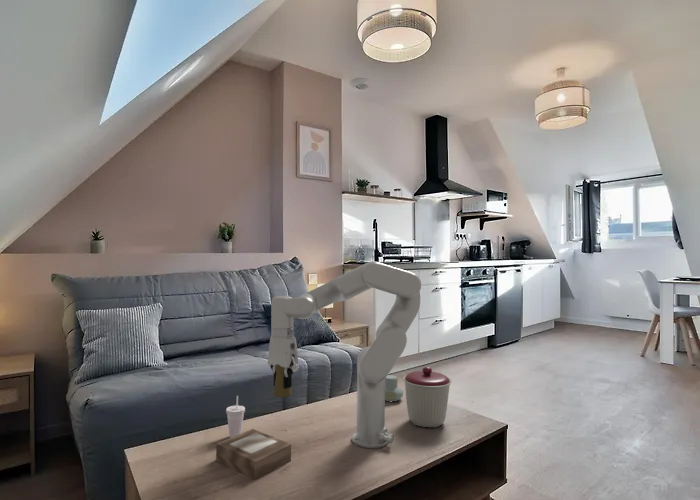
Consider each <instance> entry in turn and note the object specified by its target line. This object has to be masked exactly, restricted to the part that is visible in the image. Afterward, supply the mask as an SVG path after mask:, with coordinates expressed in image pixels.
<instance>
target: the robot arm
mask: <svg viewBox="0 0 700 500" xmlns="http://www.w3.org/2000/svg"><path fill="white" fill-rule="evenodd" d="M371 289H375V290H376V289H377V290H379V291H382V292H384V293H387V294H388V293H389V294H392V295H395V296H396V297H395V301H394V303H393V305H392V306H391V308H390V310H389V312H388V314H386V316H385V318H384V319H383V321H382V322H381V324H380V325H379V326H378V327H377V329H376V332H375V339H374V341H373V342H372V344H371V345H370V346H365V347H364V348H362V349H361V350H360V352H359V353H358V356H357V360H356V361H357V362H356V363H357V364H356V369H357V372H356V373H357V374H356V375H357V376H356V377H357V388H356V389H357V390H356V391H357V393H356V394H357V395H356V431H355V432H354V433H353V434H352V436H351V440H352V442H353V444H354V445H357V446H359V447H361V448H365V449H366V448H367V449H377V448H382V447H384V446H386V445H387V444H393V442H394V434H392V433H388V428H387V427H385V426H386V425H385V421H386V420H385V419H386V418H385V417H386V416H385V415H386V411H385V410H386V401H385V377H386V376H387V375H390V372H391V371H392V369H393V368H394V366H395V365H396V363H397V362H398V360H399V359H400V357H401V356H402V354H403V353H404V351H405V349H406V347H407V343H408V340H407V339H408V337H407V332H408V330H409V329H410V327H411V325H413V324H412V323H413V322H414V320H415V319H416V317H417V315H418V313H419V311H420V306H421V292H420V291H421V289H422V280H421V279H420V277H419V275H417V274H416V273H414V272H411V271H408V270H404V269H401V268H397V267H393V266H391V265H388V264H385V263H382V262H379V261H368V262H366V263H364V264H361V265H360V266H358V267H355V268H353V269H351V270H350V271H347V272H344V273H343V274H341V275H339V276H336V277H335V278H333V279H331V280H329V281H327V282H326V283H324V284H322V285H319V286H317V287H316V288H314V289H312V290H309V291H307V292H305V293H303V294H300V296H299V297H293V296H290V295H278V296H273V297H272V298H271V301H270V302H271V303H270V304H271V311H270V312H271V313H270V314H271V319H270V322H271V323H270V324H271V330H270V331H271V335H270V339H269V346H268V360H267V364H268V366H269V367H270V369H271V372H272V375H273V386H274V387H275V380H276V371H275V365H276V364H278V365H280V366H281V367H283V368H284V373H285V377H284V378H283V384H284V389H287V388H290V387H292V381H293V379H292V377H293V375H294V373H295V372H296V371H298V370H299V365H298V364H299V355H298V344H297V339H296V336H294V335H296V332H295V330H294V327H295V326H294V321H295V320H294V319H301V320H305V319H309V318H311V317H312V316H313V315H314V314H315V313H316V312H317V311H319V310H321V309H323V308H325V307H327V306H331V305H332V304H335V303H339V302H340V303H341V302H345V301H348V300H351V299H353V298H354V297H357V296H358V295H361V294H363V293H365V292H366V291H369V290H371ZM288 369H289V371H288Z"/></svg>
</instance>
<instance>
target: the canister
mask: <svg viewBox="0 0 700 500" xmlns="http://www.w3.org/2000/svg"><path fill="white" fill-rule="evenodd" d="M402 380H403V382H404V386H405V396H406V397H405V399H406V409H407V416H408V418H409V421H410V422H411V423H412V424H413V423H414V424H413V425H415V426H417V425H418V427H420V426H422V427H421V428H425V427H430V428H429V429H432V428H431V427H434V428H438V427H440V425H441V426H442V425H443V424H444V422H445V420H446V416H447V410H448V403H449V392H450V385H451V384H452V380H451V379H450V377H448V376H447V375H445V374H443V373H441V372H437V371H433V370H432V368H431V367H430V366H424V367H423V368H422V370H417V371H411V372H409V373H407V374H405V375H404V376H403V377H402Z"/></svg>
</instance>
